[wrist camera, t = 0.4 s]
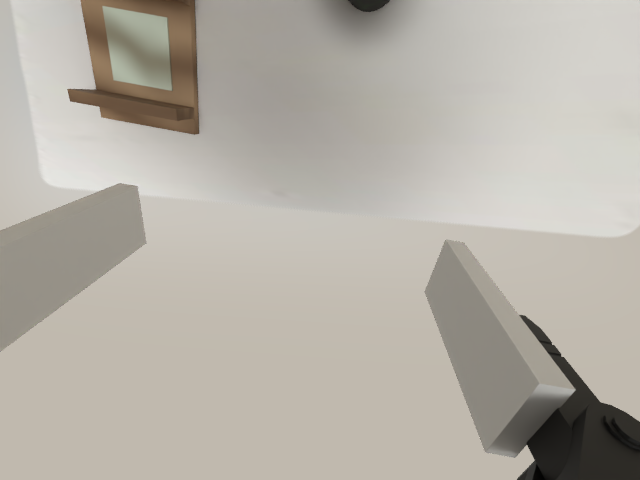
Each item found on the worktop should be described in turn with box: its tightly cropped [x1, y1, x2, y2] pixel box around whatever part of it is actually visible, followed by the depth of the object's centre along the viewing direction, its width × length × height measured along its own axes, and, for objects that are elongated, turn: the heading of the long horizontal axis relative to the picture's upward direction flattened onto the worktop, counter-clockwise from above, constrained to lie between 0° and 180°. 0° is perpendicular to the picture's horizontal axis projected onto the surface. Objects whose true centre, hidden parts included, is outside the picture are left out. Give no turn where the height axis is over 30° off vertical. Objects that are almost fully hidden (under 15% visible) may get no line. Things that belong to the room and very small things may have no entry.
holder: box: [68, 0, 199, 134], centre depth 31 cm, size 16×12×5 cm
